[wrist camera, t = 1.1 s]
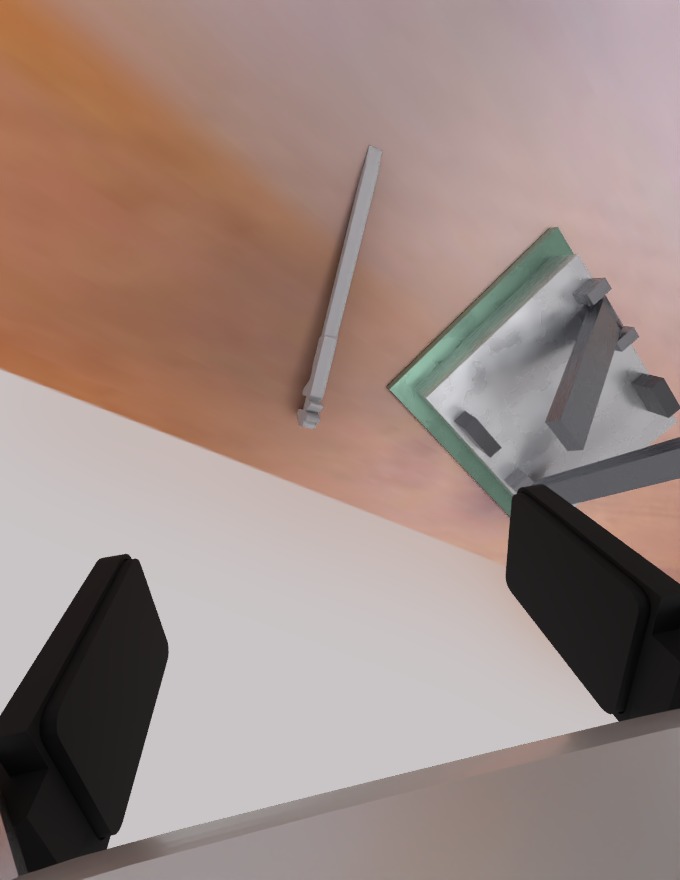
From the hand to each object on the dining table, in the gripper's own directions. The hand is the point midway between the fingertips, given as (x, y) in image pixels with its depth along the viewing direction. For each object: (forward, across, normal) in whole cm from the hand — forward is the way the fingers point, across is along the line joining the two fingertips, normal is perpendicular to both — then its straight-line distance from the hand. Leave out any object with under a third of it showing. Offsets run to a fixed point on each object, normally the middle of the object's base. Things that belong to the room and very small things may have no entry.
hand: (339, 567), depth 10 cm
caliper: (+26, -4, -5) cm, 26 cm away
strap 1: (+18, -20, +1) cm, 27 cm away
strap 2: (+18, -23, +10) cm, 31 cm away
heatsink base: (+25, -22, +6) cm, 34 cm away
